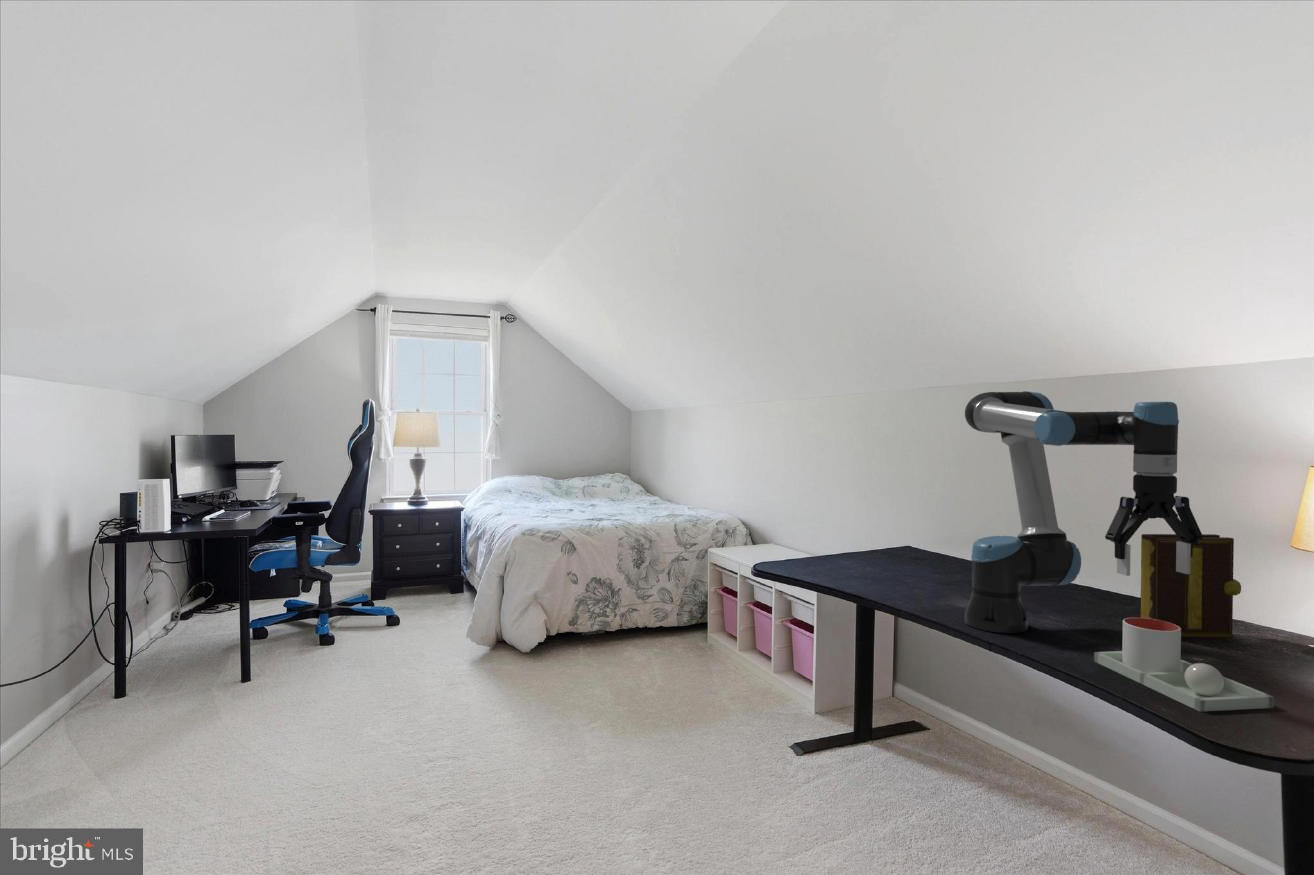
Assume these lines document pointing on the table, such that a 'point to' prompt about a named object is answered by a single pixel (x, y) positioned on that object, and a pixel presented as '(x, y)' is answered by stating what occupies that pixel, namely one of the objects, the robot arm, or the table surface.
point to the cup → (1151, 645)
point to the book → (1189, 585)
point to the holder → (1177, 688)
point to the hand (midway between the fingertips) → (1153, 573)
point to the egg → (1204, 679)
